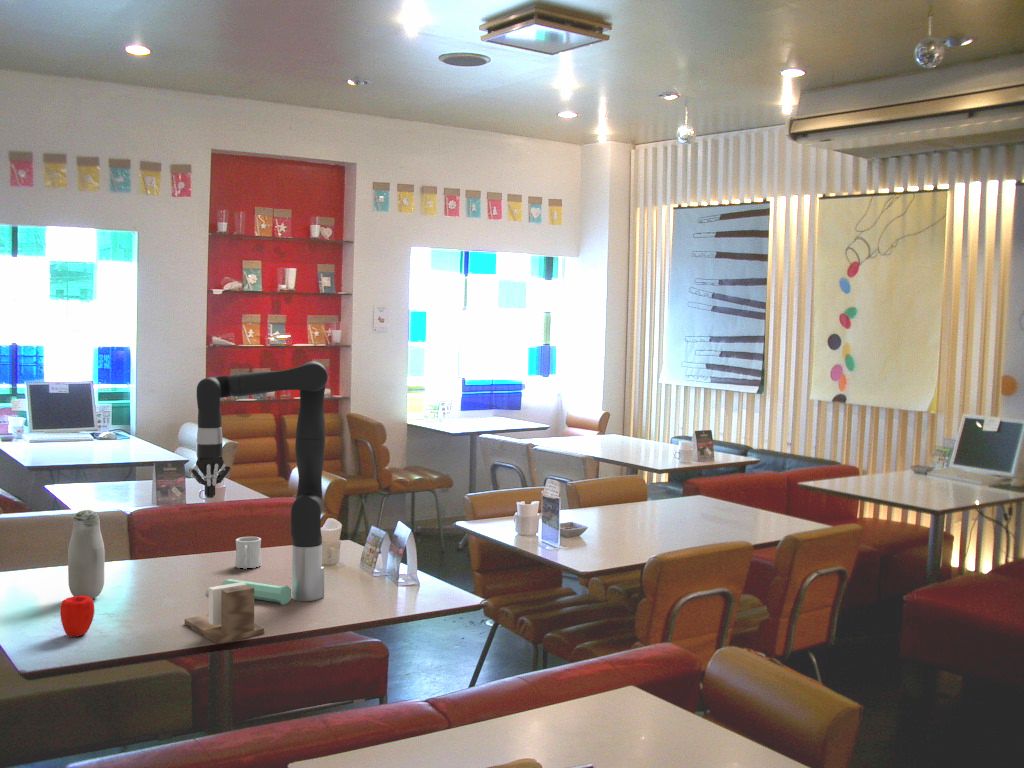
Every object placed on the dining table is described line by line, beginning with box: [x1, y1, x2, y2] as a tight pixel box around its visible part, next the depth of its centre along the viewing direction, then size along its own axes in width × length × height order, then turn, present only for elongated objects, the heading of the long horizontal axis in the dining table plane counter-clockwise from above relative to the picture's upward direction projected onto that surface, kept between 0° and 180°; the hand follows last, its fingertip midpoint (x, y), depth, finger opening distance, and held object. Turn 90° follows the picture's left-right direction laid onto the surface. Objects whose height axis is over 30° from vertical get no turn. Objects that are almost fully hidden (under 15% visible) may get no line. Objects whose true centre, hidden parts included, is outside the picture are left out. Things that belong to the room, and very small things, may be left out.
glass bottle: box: [67, 509, 106, 600], centre depth 301 cm, size 10×10×28 cm
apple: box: [59, 596, 95, 637], centre depth 267 cm, size 9×9×11 cm
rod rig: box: [184, 585, 265, 644], centre depth 274 cm, size 14×22×14 cm, turn 41°
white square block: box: [208, 582, 247, 625], centre depth 272 cm, size 10×3×10 cm, turn 131°
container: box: [220, 578, 292, 606], centre depth 306 cm, size 6×6×25 cm
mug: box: [234, 536, 262, 570], centre depth 344 cm, size 12×9×10 cm
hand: (210, 497), depth 299 cm, fingers closed
